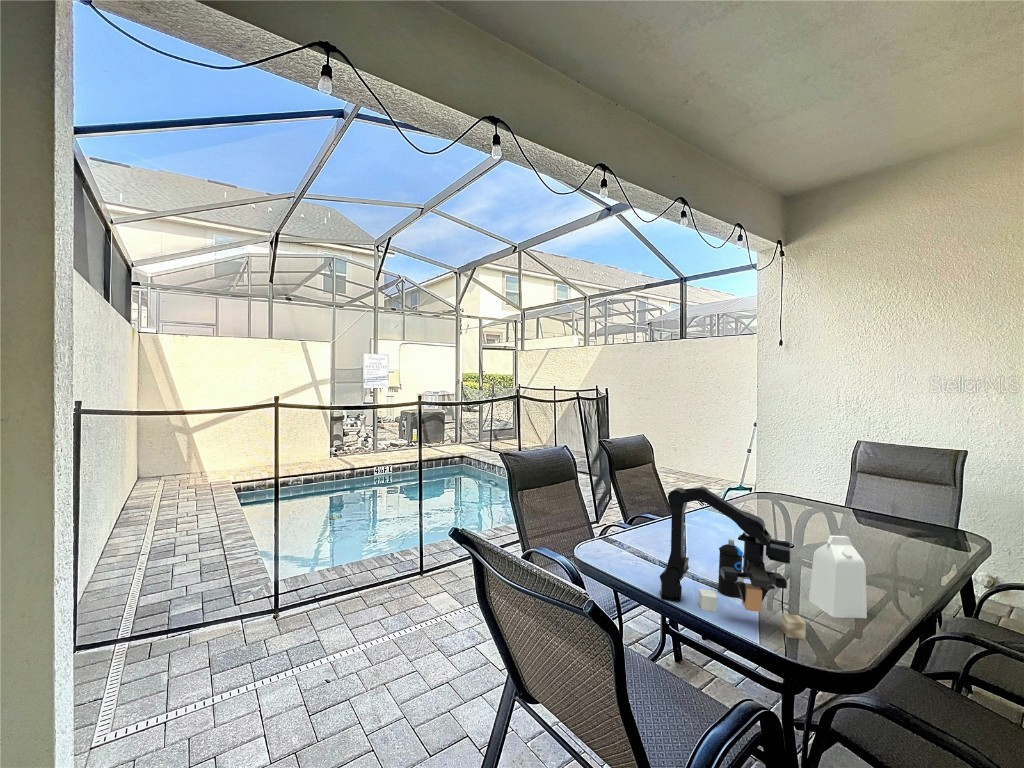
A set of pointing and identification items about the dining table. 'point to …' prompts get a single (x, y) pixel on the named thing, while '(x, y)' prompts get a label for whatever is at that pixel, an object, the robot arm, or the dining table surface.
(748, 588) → the brown block
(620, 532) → the dining table surface
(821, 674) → the dining table surface
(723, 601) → the dining table surface
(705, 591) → the off-white cube
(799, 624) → the birch cube
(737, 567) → the aerosol can
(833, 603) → the milk
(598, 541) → the dining table surface
